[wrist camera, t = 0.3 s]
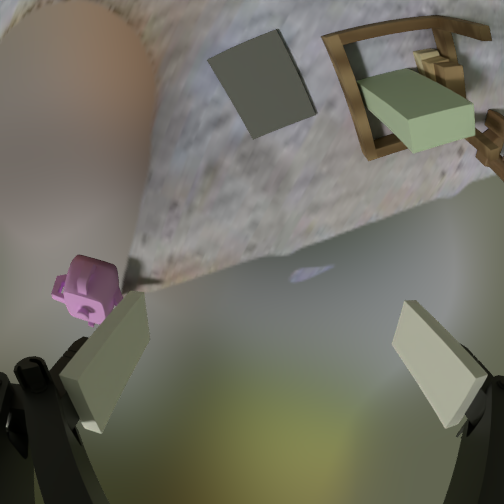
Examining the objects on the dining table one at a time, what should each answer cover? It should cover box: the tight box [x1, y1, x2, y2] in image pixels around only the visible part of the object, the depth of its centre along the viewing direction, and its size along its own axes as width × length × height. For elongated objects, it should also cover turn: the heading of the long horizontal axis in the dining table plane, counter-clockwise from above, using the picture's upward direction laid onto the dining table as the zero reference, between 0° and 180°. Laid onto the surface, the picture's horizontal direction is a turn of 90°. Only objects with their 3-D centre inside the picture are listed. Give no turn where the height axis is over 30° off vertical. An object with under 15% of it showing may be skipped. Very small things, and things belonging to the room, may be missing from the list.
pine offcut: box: [413, 48, 439, 77], centre depth 30 cm, size 9×4×3 cm, turn 27°
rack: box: [321, 15, 499, 162], centre depth 28 cm, size 20×20×12 cm
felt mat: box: [207, 30, 316, 139], centre depth 34 cm, size 14×10×1 cm
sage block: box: [356, 68, 475, 154], centre depth 27 cm, size 4×9×16 cm, turn 116°
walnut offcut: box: [433, 61, 466, 99], centre depth 26 cm, size 7×4×3 cm, turn 23°
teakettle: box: [51, 255, 123, 327], centre depth 59 cm, size 17×17×12 cm
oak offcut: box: [421, 56, 449, 82], centre depth 28 cm, size 8×4×3 cm, turn 30°
